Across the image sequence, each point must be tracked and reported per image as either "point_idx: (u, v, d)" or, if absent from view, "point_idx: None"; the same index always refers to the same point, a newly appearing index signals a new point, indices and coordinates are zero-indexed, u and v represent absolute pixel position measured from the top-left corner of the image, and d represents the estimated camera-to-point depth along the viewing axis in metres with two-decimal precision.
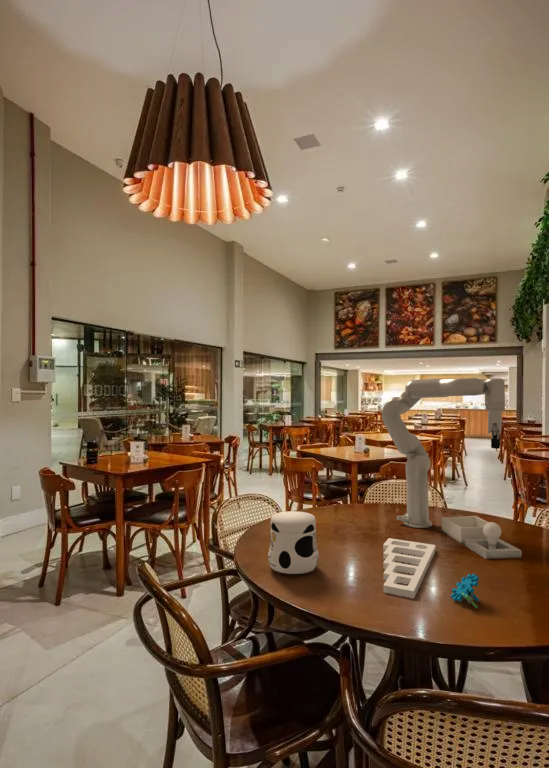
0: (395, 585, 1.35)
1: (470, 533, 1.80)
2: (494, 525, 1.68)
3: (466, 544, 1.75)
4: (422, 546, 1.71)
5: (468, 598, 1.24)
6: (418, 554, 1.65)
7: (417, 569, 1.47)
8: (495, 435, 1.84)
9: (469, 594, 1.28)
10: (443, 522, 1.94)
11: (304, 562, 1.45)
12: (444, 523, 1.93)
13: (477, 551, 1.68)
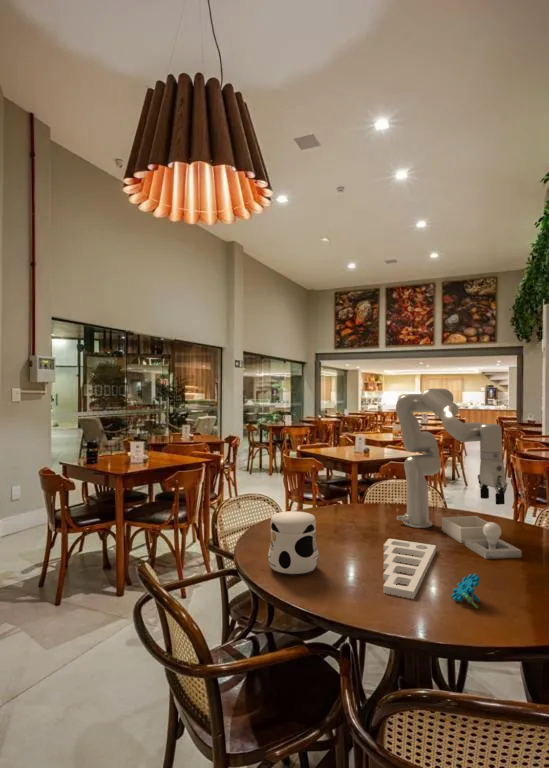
0: (395, 586, 1.35)
1: (470, 533, 1.80)
2: (494, 525, 1.68)
3: (466, 544, 1.75)
4: (422, 546, 1.71)
5: (468, 598, 1.24)
6: (418, 554, 1.65)
7: (417, 570, 1.47)
8: None
9: (470, 594, 1.28)
10: (443, 522, 1.94)
11: (304, 562, 1.45)
12: (444, 523, 1.93)
13: (477, 551, 1.68)
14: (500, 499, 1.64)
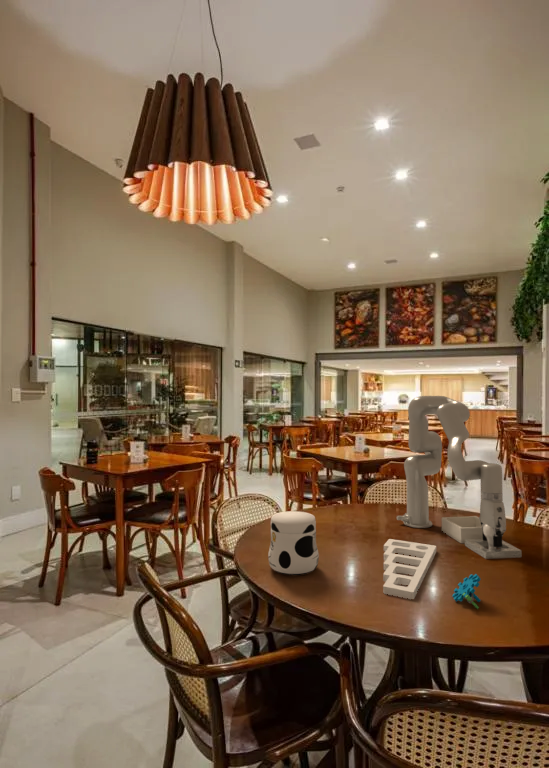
0: (395, 586, 1.35)
1: (470, 533, 1.80)
2: None
3: (466, 544, 1.75)
4: (423, 547, 1.70)
5: (468, 598, 1.24)
6: (419, 555, 1.65)
7: (417, 570, 1.46)
8: None
9: (470, 594, 1.28)
10: (443, 522, 1.94)
11: (304, 562, 1.45)
12: (444, 523, 1.93)
13: (477, 551, 1.68)
14: (498, 542, 1.66)
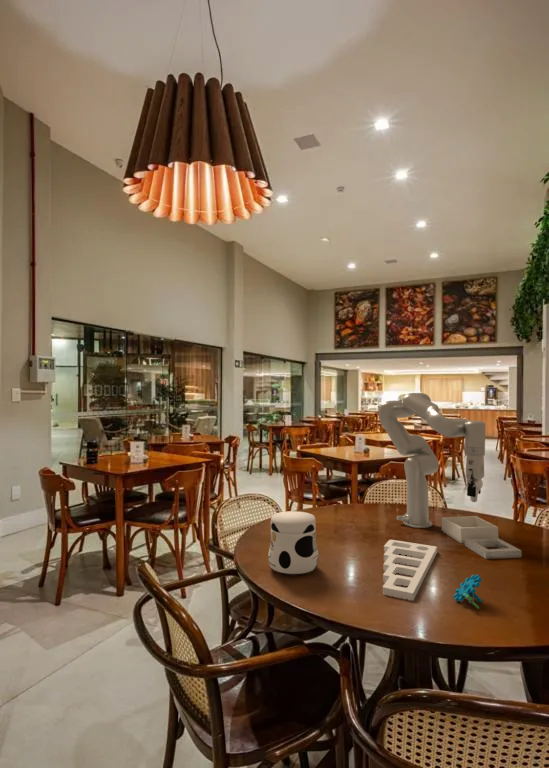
0: (394, 587, 1.34)
1: (470, 533, 1.80)
2: None
3: (466, 544, 1.75)
4: (423, 548, 1.70)
5: (469, 598, 1.24)
6: (419, 556, 1.64)
7: (417, 571, 1.46)
8: None
9: (471, 595, 1.28)
10: (443, 522, 1.94)
11: (304, 562, 1.45)
12: (444, 523, 1.93)
13: (477, 551, 1.68)
14: (469, 491, 1.80)
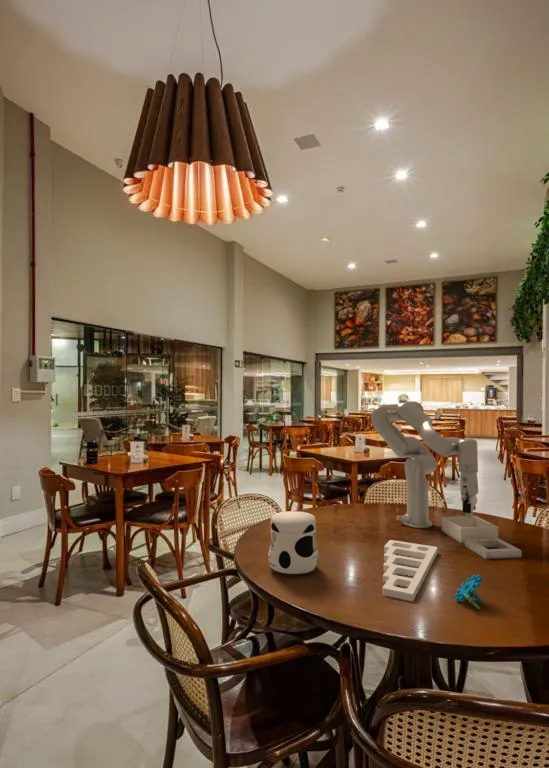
0: (394, 588, 1.34)
1: (470, 533, 1.80)
2: (467, 494, 1.87)
3: (466, 544, 1.75)
4: (424, 548, 1.69)
5: (469, 598, 1.24)
6: (419, 556, 1.63)
7: (417, 572, 1.45)
8: None
9: (472, 595, 1.28)
10: (443, 522, 1.94)
11: (304, 562, 1.45)
12: (444, 523, 1.93)
13: (477, 551, 1.68)
14: (465, 508, 1.85)
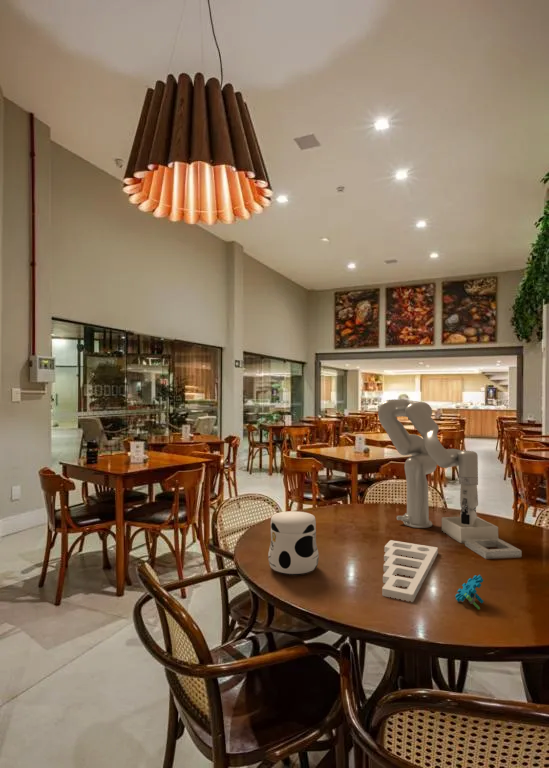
0: (394, 588, 1.33)
1: (470, 533, 1.80)
2: None
3: (466, 544, 1.75)
4: (424, 548, 1.69)
5: (469, 599, 1.24)
6: (419, 557, 1.63)
7: (417, 572, 1.45)
8: None
9: (472, 595, 1.27)
10: (443, 522, 1.94)
11: (304, 562, 1.45)
12: (444, 523, 1.93)
13: (477, 551, 1.68)
14: (463, 519, 1.84)
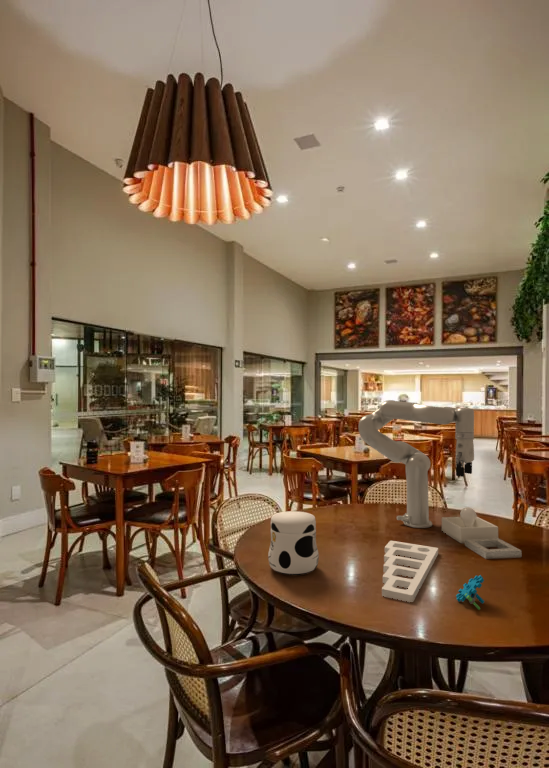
0: (394, 589, 1.33)
1: (470, 533, 1.80)
2: (466, 509, 1.87)
3: (466, 544, 1.75)
4: (424, 549, 1.68)
5: (469, 599, 1.24)
6: (420, 557, 1.62)
7: (417, 573, 1.44)
8: None
9: (473, 595, 1.27)
10: (443, 522, 1.94)
11: (304, 562, 1.45)
12: (444, 523, 1.93)
13: (477, 551, 1.68)
14: (458, 471, 1.93)
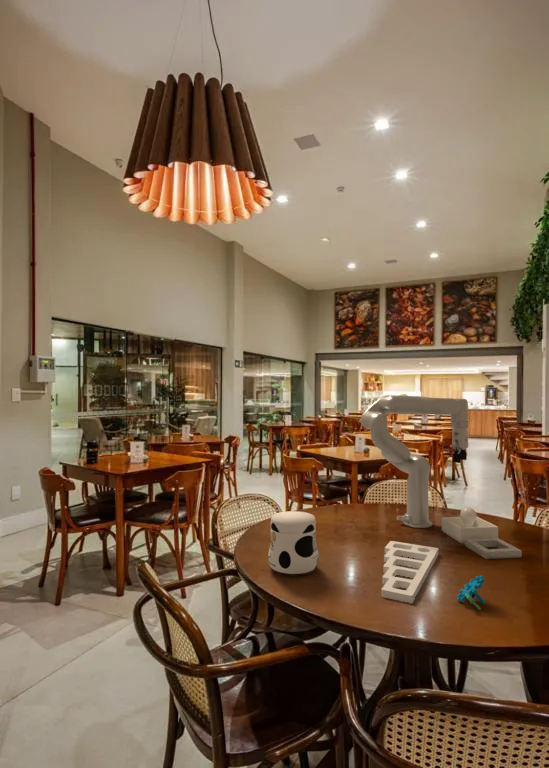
0: (393, 589, 1.32)
1: (470, 533, 1.80)
2: (466, 509, 1.87)
3: (466, 544, 1.75)
4: (424, 549, 1.68)
5: (470, 599, 1.24)
6: (420, 557, 1.62)
7: (417, 573, 1.44)
8: None
9: (473, 595, 1.27)
10: (443, 522, 1.94)
11: (304, 562, 1.45)
12: (444, 523, 1.93)
13: (477, 551, 1.68)
14: (455, 458, 2.06)
